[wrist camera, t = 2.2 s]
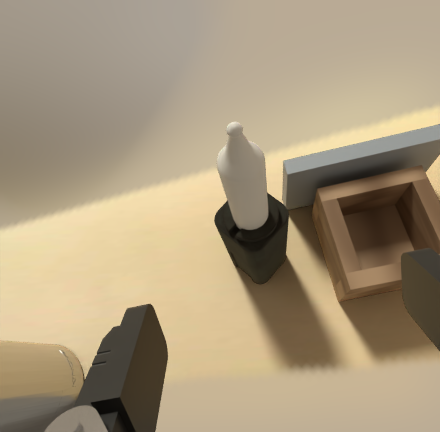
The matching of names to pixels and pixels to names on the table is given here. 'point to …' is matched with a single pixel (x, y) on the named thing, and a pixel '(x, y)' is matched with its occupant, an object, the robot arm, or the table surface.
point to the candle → (250, 209)
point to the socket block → (375, 229)
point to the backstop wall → (357, 163)
